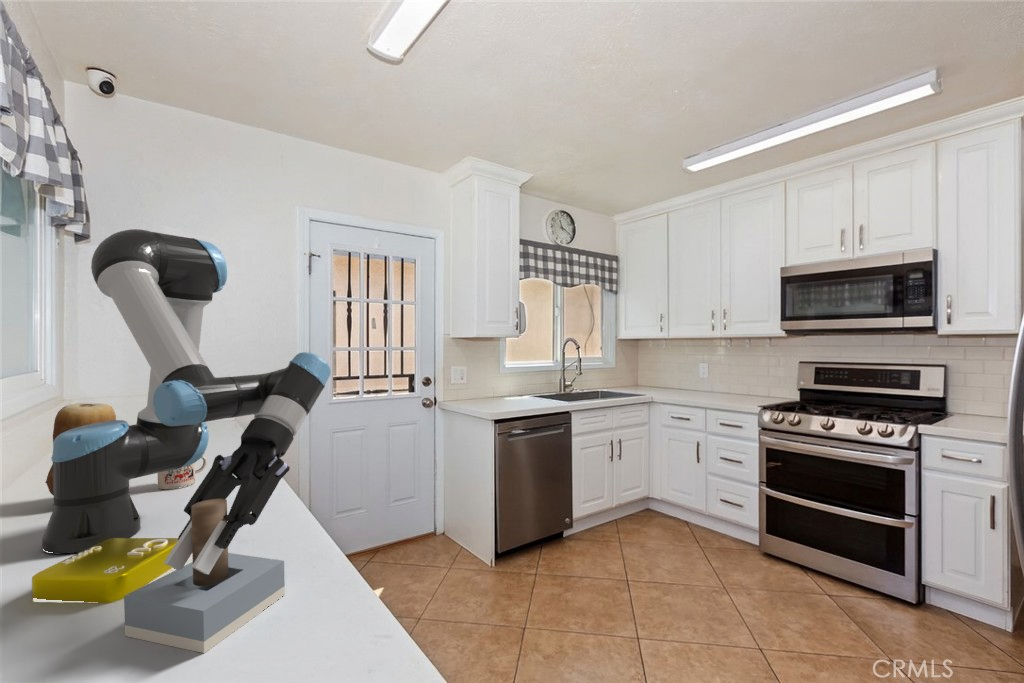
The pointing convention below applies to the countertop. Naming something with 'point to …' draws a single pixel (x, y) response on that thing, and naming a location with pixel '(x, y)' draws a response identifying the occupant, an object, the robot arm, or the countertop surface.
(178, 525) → the countertop surface
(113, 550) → the element tile
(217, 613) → the socket block
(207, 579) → the pin
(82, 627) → the countertop surface
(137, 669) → the countertop surface
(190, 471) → the enamel mug
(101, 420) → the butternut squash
